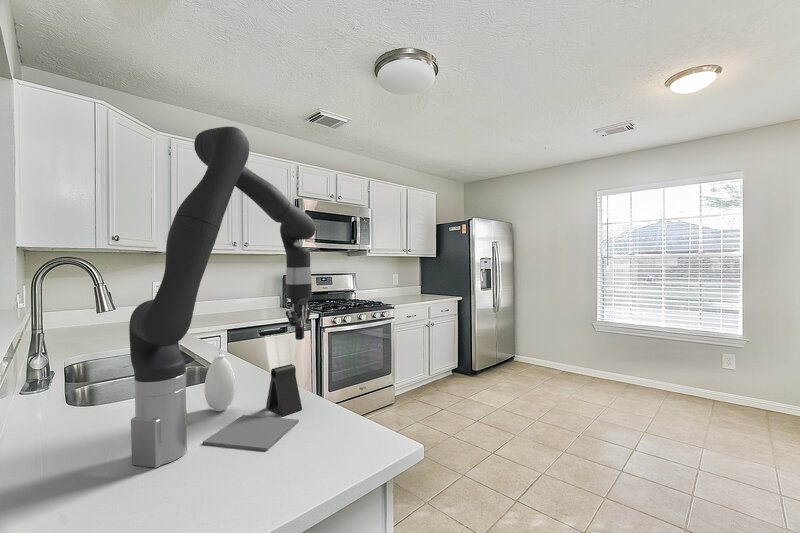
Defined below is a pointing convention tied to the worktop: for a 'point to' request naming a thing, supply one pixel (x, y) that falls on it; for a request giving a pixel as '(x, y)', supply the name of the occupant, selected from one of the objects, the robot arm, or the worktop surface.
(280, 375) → the phone stand
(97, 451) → the worktop surface
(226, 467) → the worktop surface
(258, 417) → the rubber mat
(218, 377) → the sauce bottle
